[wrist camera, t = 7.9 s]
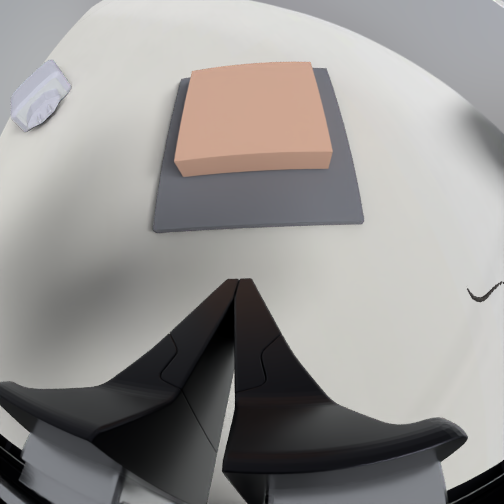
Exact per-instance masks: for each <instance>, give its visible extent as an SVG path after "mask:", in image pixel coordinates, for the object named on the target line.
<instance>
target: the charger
mask: <svg viewBox="0 0 504 504" xmlns="http://www.w3.org/2000/svg"><path fill="white" fill-rule="evenodd" d="M70 89H71V85H70V83H69V82H68V80H67V79H66V77H65V76H64V74H63V73H62V71H61V70H60V68H59V67H58V66H57V64H56V63H55V62H54V60H48V61H46V62H45V63H44V64H42V65H41V66H40V67H39V68H38V69H37V70H36V71H35V72H34V73H32V75H30V76H29V77H28V78H27V79H26V80H25V81H24V82H23V83H22V84H21V85H20V86H19V87H18V88H17V89H16V90H15V92H14V93H13V94H12V97H11V119H12V120H13V121H14V122H15V123H16V124H17V125H18V126H19V127H20V128H21V129H22V130H23V131H25V132H26V131H29V130H30V129H32V128H33V127H35V126H37V125H39V124H41V123H43V122H44V121H45V120H46V119H47V118H48V117H49V116H50V115H51V114H52V113H53V112H54V111H55V109H56V107H57V105H58V103H59V101H60V100H61V99H63V98H64V97H65V96H66V95H67V94H68V92H69V91H70Z"/></svg>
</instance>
